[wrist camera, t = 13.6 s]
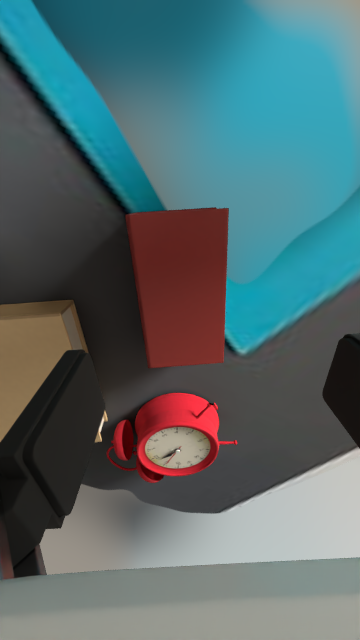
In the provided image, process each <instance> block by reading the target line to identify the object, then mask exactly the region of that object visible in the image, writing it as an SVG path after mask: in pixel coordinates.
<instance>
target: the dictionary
mask: <svg viewBox="0 0 360 640" xmlns="http://www.w3.org/2000/svg"><path fill="white" fill-rule="evenodd" d="M228 214H229V209H228V208H223V209H216V208H201V209H184V210H169V211H154V212H138V213H132V214H127V215H125V218H126V225H127V231H128V238H129V244H130V251H131V258H132V264H133V271H134V277H135V284H136V291H137V297H138V304H139V310H140V317H141V324H142V330H143V337H144V344H145V350H146V357H147V363H148V368H157V367H171V366H184V365H197V364H211V363H223V359H224V330H225V301H226V272H227V271H226V270H227V243H228Z"/></svg>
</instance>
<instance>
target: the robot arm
mask: <svg viewBox="0 0 360 640" xmlns="http://www.w3.org/2000/svg"><path fill="white" fill-rule="evenodd" d="M323 398H324V400H325V402H326V403H327V405H328V406H329V407H330V409H331V410H332V412H333V413H334V414H335V416H336V417H337V418H338V420H339V421H340V422H341V424H342V425H343V426H344V428H345V429H346V430H347V432H348V433H349V435H350V436H351V437H352V439H353V440H354V441H355V443H356V444H357V445H358V447H359V448H360V334H347V335H345V336H344V337H343V338H342V339H340V340H339V342H338V345H337V348H336V351H335V355H334V358H333V361H332V364H331V367H330V370H329V373H328V376H327V379H326V382H325V386H324V389H323ZM104 412H105V403H104V399H103V396H102V393H101V389H100V386H99V382H98V379H97V376H96V372H95V369H94V365H93V362H92V359H91V355H90V354H89V353H86V352H85V350H83V349H78V350H67V351H66V352H65V353H64V354H63V356H62V357H61V358H60V360H59V361H58V362H57V364H56V365H55V367H54V368H53V369H52V371H51V372H50V374H49V375H48V376H47V378H46V379H45V381H44V382H43V383H42V385H41V386H40V388H39V389H38V390H37V392H36V393H35V395H34V396H33V397H32V399H31V400H30V402H29V403H28V404H27V406H26V407H25V409H24V410H23V411H22V413H21V414H20V415H19V417H18V418H17V420H16V421H15V422H14V424H13V425H12V427H11V428H10V429H9V431H8V432H7V434H6V435H5V436H4V438H3V439H2V441H1V442H0V640H360V558H340V559H320V560H298V561H278V562H257V563H236V564H216V565H199V566H181V567H161V568H142V569H124V570H105V571H92V572H80V573H66V574H54V575H53V574H52V575H47V574H46V570H45V566H44V561H43V557H42V553H41V549H40V545H39V543H40V542H41V539H42V537H43V534H44V531H45V529H55V528H61V527H62V524H63V520H64V518H65V516H67V515H69V514H70V513H71V511H72V509H73V506H74V503H75V500H76V497H77V494H78V491H79V488H80V485H81V482H82V479H83V476H84V473H85V470H86V467H87V464H88V461H89V458H90V455H91V452H92V449H93V446H94V443H95V440H96V437H97V433H98V430H99V427H100V424H101V421H102V418H103V415H104Z"/></svg>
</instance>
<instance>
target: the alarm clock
mask: <svg viewBox="0 0 360 640" xmlns="http://www.w3.org/2000/svg"><path fill="white" fill-rule="evenodd" d="M214 403H215V402H214ZM216 410H218V407H217V405H216V404H215V405H211V403H209V402H208V401H206V400H205V399H203V398H201V397H198V396H196V395H192V394H187V393H170V394H165V395H161V396H158V397H156V398H154V399H152V400H150V401H148V402H147V403H146V404H145V405H143V406H142V408H141V409H140V410H139V412H138V413H137V416H136V420H135V430H136V434H137V436H138V441H137V445H133V430H132V426H131V423H130V421H129V420H123V421H121V422H120V423H118V425H117V427H116V429H115V433H114V441H111V443H112V444H113V443H114V445H113V446H111V447H110V448H109V449H108V450H107V458H108V459H109V460H110V462H111V463H113V464H114V465H115V466H116V467H118V468H120V469H122V470H127V471H132V470H138V473H139V475H140V476H141V478H142V479H144V480H145V481H147V482H150V483H155V482H158V481H160V480H161V479H162V478H163V476H164V475H166V476H185V475H190V474H194V473H197V472H199V471H201V470H203V469H205V468H207V467H208V466H209V465H210V464H212V463H213V461H214V460H215V459H216V457H217V454H218V448H219V444H235V445H236V444H237V441H236V440H234V442H226V441H218V438H217V431H218V427H219V418H218V414H217V412H216ZM133 447H137V448H136V449H137V451H136V452H135V451H133ZM112 448H114V449H115V453H116V455H117V456H118V458H119V459H121V460H129V459H130V458H131V455H132V451H133V454H134V455H136V454H137V460H136V468H124V467H121V466H120V465H118V464H116V463H115V462H114V461H113V460H112V459H111V458H110V456H109V451H110V450H111V449H112Z"/></svg>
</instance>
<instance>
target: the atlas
mask: <svg viewBox="0 0 360 640" xmlns="http://www.w3.org/2000/svg"><path fill="white" fill-rule="evenodd" d="M78 349H83V350H85V352H86V353H88V349H87V346H86V342H85V339H84V335H83V332H82V328H81V325H80V321H79V318H78V314H77V311H76V307H75V304H74V301H73V300H61V301H46V302H32V303H18V304H3V305H0V442H1V441H2V439H3V438H4V436H5V435H6V434H7V432H8V431H9V429H10V428H11V427H12V425H13V424H14V422H15V421H16V420H17V418H18V417H19V415H20V414H21V413H22V411H23V410H24V409H25V407H26V406H27V404H28V403H29V402H30V400H31V399H32V397H33V396H34V395H35V393H36V392H37V390H38V389H39V388H40V386H41V385H42V383H43V382H44V381H45V379H46V378H47V376H48V375H49V374H50V372H51V371H52V369H53V368H54V367H55V365H56V364H57V362H58V361H59V360H60V358H61V357H62V356H63V354H64V353H65V352H66V351H67V350H78ZM107 420H108V419H107V415H106V412H104V415H103V418H102V421H101V424H100V427H99V430H98V433H97V437H96V440H95V442H102V438H101V435H100V432H101V429H102V425H103V422H107Z"/></svg>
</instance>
